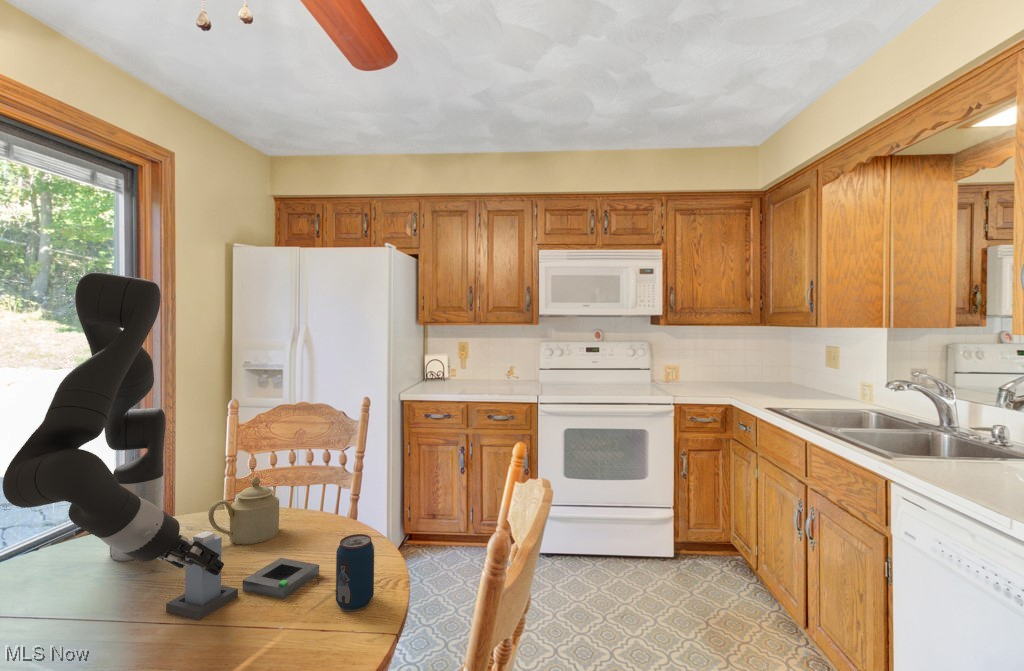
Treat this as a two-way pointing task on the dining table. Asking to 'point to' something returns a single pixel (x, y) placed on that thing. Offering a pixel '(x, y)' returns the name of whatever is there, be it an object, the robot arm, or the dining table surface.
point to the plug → (203, 574)
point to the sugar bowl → (250, 515)
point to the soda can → (354, 572)
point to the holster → (200, 612)
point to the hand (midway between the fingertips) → (202, 566)
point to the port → (280, 578)
